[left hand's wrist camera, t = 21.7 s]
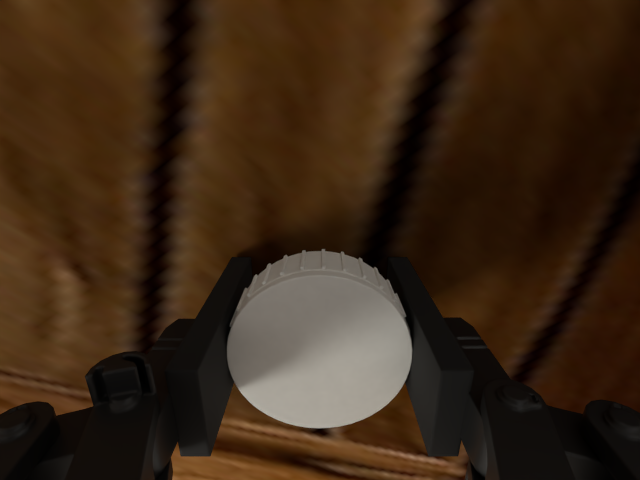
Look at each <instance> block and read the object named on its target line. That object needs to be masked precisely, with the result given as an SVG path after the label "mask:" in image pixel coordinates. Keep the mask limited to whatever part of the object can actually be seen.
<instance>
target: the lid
mask: <svg viewBox="0 0 640 480" xmlns="http://www.w3.org/2000/svg"><path fill="white" fill-rule="evenodd" d="M405 317H406V314H405V311H404V309H403V307H402V304H401V302H400V299H399V297H398V295H397V293H396V294H394V291H393V289H392V286H391V284H390V281H389V280H388V279H387V280H385V279H384V278H383V277H382V276H381V275H380V274H379V272H378V269H377V268H376V267H374V268H372V267H370V266H369V265H367V264H366V263H364V262H363V261H362V259H361V258H359V259H356V258H354V257H351V256H348V255H345V254H344V252H342V251H341V253H335V252H327V251H325V249H322V251H311V252H306V250H303V251H302V253H298V254H295V255H291V256H287V255H285V256H284V257H283V259H281V260H279V261H277V262H275V263H274V264H272V265H271V264H270V263H269V264H268V265H267V268H266V269H265V270H264V271H262V272H261V273H260V274H259V275H257V274H256V275H255V276H254V278H253V280H252V283H251V285H250V286H249V287H248V288H245V289H244V292H243V294H242V296H241V299H240V301H239V303H238V306H237V308H236V311H235V313H234V315H233V318H232V320H231V323H230V326H229V327H231V329H230V332H229V336H228V341H227V361H228V367H229V370H230V373H231V376H232V378H233V380H234V382H235V384H236V386H237V387H238V389H239V390H240V392H241V393H242V394H243V396H244V397H245V398H246V399H247V400H248V401H249V402H250V403H251V404H253V405H254V406H255V407H256V408H257V409H259V410H260V411H262V412H263V413H265V414H267V415H269V416H271V417H273V418H275V419H277V420H279V421H282V422H285V423H288V424H292V425H296V426H301V427H308V428H331V427H338V426H343V425H348V424H352V423H354V422H357V421H360V420H363V419H365V418H367V417H369V416H371V415H373V414H374V413H376V412H377V411H379V410H381V409H382V408H383V407H384V406H386V405H387V404H388V403H389V402H390V401H391V400H392V399H393V398H394V397H395V396H396V395H397V393H398V392H399V391H400V389H401V388H402V386H403V384H404V383H405V381H406V379H407V376H408V374H409V371H410V368H411V363H412V352H413V347H412V339H411V335H410V328H409V326H408V323H407V321H406V319H405Z"/></svg>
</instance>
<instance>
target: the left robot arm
mask: <svg viewBox="0 0 640 480" xmlns="http://www.w3.org/2000/svg"><path fill="white" fill-rule="evenodd" d="M387 279H388V280H389V281H390V284H391V286H392V289H393V291H394V294H396V293H397V295H398V297H399V299H400V302H401V304H402V307H403V309H404V311H405V314H406V317H405V319H406V321H407V323H408V326H409V328H410V335H411V339H412V347H413V352H412V363H411V368H410V371H409V374H408V376H407V379H406V381H405V383H406V386H407V389H408V393H409V396H410V399H411V402H412V405H413V408H414V412H415V415H416V418H417V421H418V424H419V427H420V431H421V434H422V437H423V440H424V443H425V446H426V449H427V453H428V456H458V454H459V449H460V444H461V440H462V442H463V445H464V447H465V449H466V452H467V454H468V456H469V462H468V466H467V471H466V476H465V480H640V413H638V412H637V411H635V410H633V409H631V408H629V407H627V406H624V405H622V404H619V403H616V402H612V401H606V400H595V401H591V402H590V403H588V404H587V405H586V407H585V410H584V413H583V414H580V413H576V412H571V411H567V410H563V409H559V408H554V407H551V406H548V405H546V403H545V402H544V400H543V399H542V397H541V396H540V395H539V394H538V393H536V392H535V391H534V390H533V389H532V388H530V387H528V386H526V385H524V384H522V383H521V382H517V381H514V380H511V379H510V378H509V376H508V375H507V374H506V372H505V371H504V369H503V368H502V367H501V365H500V364H499V362H498V361H497V360H496V358H495V357H494V355H493V354H492V352H491V351H490V350H489V349H487V345H486V344H485V343H484V341H483V340H481V337H480V336H479V334H478V333H477V331H476V330H475V329H474V327H473V326H471V325H470V324H469V323H467V322H466V321H464V320H463V319H462V318H443V317H442V315H441V314H440V312H439V310H438V309H437V307H436V305H435V304H434V302H433V300H432V298H431V297H430V295H429V293H428V292H427V290H426V288H425V287H424V285H423V283H422V282H421V280H420V278H419V277H418V275H417V273H416V272H415V270H414V268H413V267H412V265H411V263H410V262H409V260H408V258H407V257H388V268H387ZM251 283H252V267H251V257H232V258H231V260H230V262H229V263H228V265H227V267H226V268H225V270H224V272H223V273H222V275H221V277H220V278H219V280H218V282H217V283H216V285H215V287H214V288H213V290H212V292H211V293H210V295H209V297H208V298H207V300H206V302H205V303H204V305H203V307H202V309H201V310H200V312H199V314H198V315H197V317H196V319H178V320H176V321H175V322H174V323H172V324H171V325H169V326H168V327H167V328H166V329H165V330H164V331H163V333H162V334H161V336H160V337H159V338H158V341H156V343H155V344H154V346H153V347H152V350H150V351H149V353H148V354H147V355H146V354H145V353H141V352H137V351H133V352H123V353H119V354H115V355H112V356H110V357H108V358H106V359H104V360H102V361H100V362H99V363H97V364H96V365H95V366H93V367H92V368H91V369H90V370H89V372H88V373H87V374H86V376H85V378H86V381H87V385H88V388H89V392H90V395H91V398H92V402H93V405H94V406H93V407H90V408H87V409H83V410H79V411H75V412H70V413H66V414H62V415H58V416H56V414H55V411H54V408H53V407H52V406H51V405H50V404H49V403H46V402H31V403H25V404H22V405H20V406H17V407H14V408H12V409H9V410H8V411H6V412H4V413H2V414H0V480H172V475H173V468H172V462H171V456H172V453H173V451H174V449H175V446H176V444H177V442H178V444H179V449H180V454H181V456H211V453H212V449H213V446H214V443H215V440H216V437H217V434H218V431H219V427H220V424H221V421H222V418H223V415H224V412H225V409H226V405H227V402H228V399H229V396H230V393H231V390H232V387H233V383H234V380H233V378H232V376H231V373H230V370H229V367H228V361H227V341H228V336H229V332H230V329H231V327H229V326H230V323H231V320H232V318H233V315H234V313H235V311H236V308H237V306H238V303H239V301H240V299H241V296H242V294H243V292H244V289H245V288H248V287H249V286H250V285H251Z"/></svg>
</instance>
